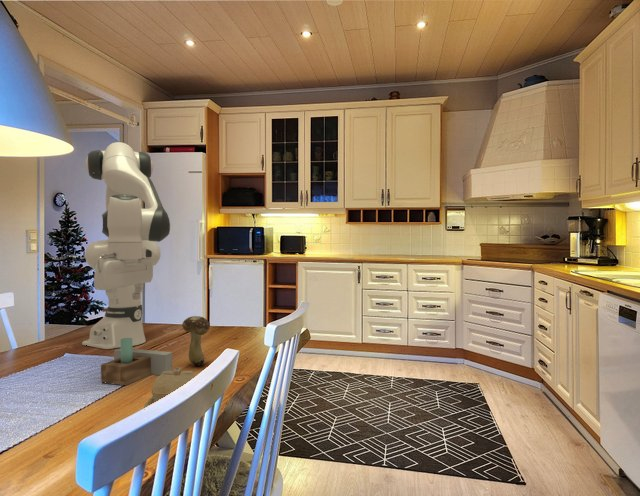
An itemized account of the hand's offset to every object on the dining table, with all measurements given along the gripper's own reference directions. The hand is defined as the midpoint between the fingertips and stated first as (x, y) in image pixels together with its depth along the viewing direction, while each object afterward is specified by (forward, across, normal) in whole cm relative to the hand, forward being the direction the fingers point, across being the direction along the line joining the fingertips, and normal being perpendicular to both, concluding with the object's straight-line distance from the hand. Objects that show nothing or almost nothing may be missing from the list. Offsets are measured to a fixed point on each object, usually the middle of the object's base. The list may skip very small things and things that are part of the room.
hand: (125, 302), depth 116 cm
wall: (+22, +6, -1) cm, 22 cm away
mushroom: (+22, +15, -14) cm, 29 cm away
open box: (+21, 0, 0) cm, 21 cm away
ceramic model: (+21, -18, -27) cm, 38 cm away
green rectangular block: (+20, 0, 0) cm, 20 cm away
